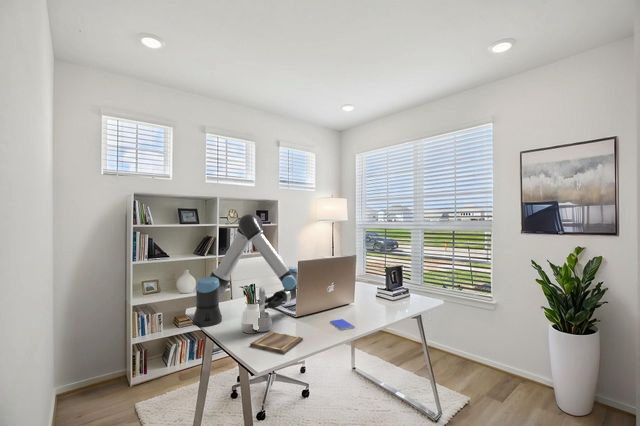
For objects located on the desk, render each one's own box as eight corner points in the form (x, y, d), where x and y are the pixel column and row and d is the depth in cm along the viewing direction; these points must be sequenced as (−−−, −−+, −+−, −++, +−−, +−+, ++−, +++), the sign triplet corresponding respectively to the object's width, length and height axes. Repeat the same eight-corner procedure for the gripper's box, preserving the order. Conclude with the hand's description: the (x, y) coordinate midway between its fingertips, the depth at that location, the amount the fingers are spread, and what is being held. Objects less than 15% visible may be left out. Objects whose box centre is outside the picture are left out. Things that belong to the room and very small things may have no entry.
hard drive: (354, 325, 160) (343, 318, 171) (341, 328, 157) (329, 320, 168) (354, 329, 160) (342, 321, 171) (341, 331, 157) (329, 323, 168)
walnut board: (250, 346, 137) (250, 342, 137) (270, 333, 151) (270, 331, 151) (284, 354, 129) (284, 350, 129) (302, 340, 144) (302, 337, 144)
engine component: (253, 332, 150) (274, 329, 154) (254, 290, 151) (274, 289, 154) (250, 325, 161) (269, 322, 164) (250, 285, 161) (269, 284, 164)
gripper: (294, 305, 171) (270, 318, 150) (269, 301, 178) (242, 313, 157) (294, 292, 171) (270, 302, 150) (269, 289, 178) (242, 298, 157)
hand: (256, 308), depth 154 cm, fingers closed on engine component, 4 cm apart
